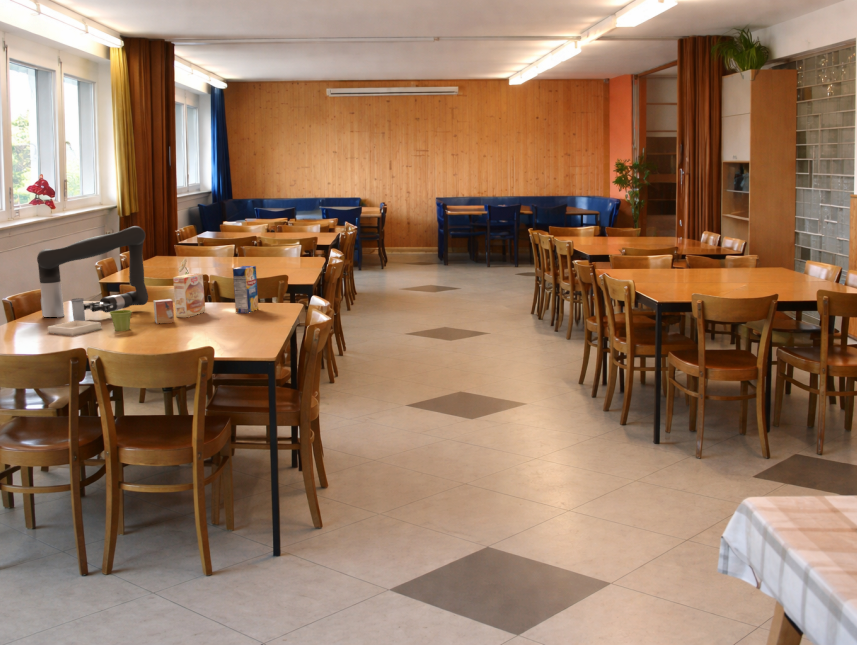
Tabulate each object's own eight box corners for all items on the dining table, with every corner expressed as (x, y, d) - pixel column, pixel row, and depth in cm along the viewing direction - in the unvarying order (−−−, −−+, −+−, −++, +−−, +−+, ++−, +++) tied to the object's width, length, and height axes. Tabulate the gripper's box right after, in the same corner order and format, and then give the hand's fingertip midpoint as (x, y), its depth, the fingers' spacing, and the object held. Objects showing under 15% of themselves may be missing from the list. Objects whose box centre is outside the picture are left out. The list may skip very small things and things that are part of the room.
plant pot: (120, 328, 367) (118, 309, 365) (138, 329, 364) (136, 310, 362) (106, 332, 358) (104, 313, 356) (124, 333, 355) (122, 313, 354)
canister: (71, 325, 376) (68, 299, 374) (80, 323, 381) (77, 297, 379) (79, 325, 374) (76, 300, 372) (88, 323, 379) (86, 298, 377)
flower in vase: (181, 303, 430) (177, 256, 425) (203, 302, 431) (199, 256, 426) (176, 307, 417) (172, 259, 412) (198, 307, 418) (195, 258, 413)
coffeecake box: (187, 317, 389) (184, 277, 385) (175, 317, 391) (172, 277, 388) (206, 312, 403) (203, 273, 399) (194, 311, 405) (191, 273, 401)
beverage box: (235, 313, 399) (232, 268, 395) (246, 309, 409) (243, 265, 405) (248, 313, 397) (245, 268, 393) (258, 309, 407) (255, 266, 403)
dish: (48, 333, 356) (47, 326, 356) (76, 326, 370) (76, 320, 369) (73, 335, 350) (72, 329, 349) (101, 329, 363) (100, 322, 363)
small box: (156, 324, 374) (155, 301, 372) (154, 322, 379) (152, 300, 377) (174, 322, 378) (172, 300, 376) (172, 320, 383) (170, 298, 381)
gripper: (100, 295, 397) (73, 300, 382) (122, 296, 391) (95, 302, 376) (102, 310, 398) (75, 316, 384) (123, 311, 392) (97, 317, 378)
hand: (85, 309), depth 380 cm, fingers open, 8 cm apart
